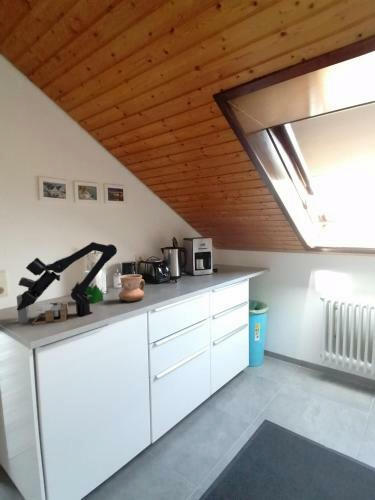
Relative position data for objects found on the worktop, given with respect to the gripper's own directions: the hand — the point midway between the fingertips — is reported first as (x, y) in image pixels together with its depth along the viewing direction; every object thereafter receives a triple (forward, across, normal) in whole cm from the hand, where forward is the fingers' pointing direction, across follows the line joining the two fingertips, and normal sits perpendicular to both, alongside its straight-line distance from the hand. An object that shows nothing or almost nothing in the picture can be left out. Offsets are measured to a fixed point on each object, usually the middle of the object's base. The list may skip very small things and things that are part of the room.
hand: (19, 307), depth 133 cm
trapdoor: (-5, 0, +11) cm, 13 cm away
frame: (-4, 0, +14) cm, 14 cm away
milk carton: (-18, -25, +28) cm, 42 cm away
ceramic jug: (-33, -18, +43) cm, 57 cm away
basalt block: (+4, 0, +6) cm, 7 cm away
